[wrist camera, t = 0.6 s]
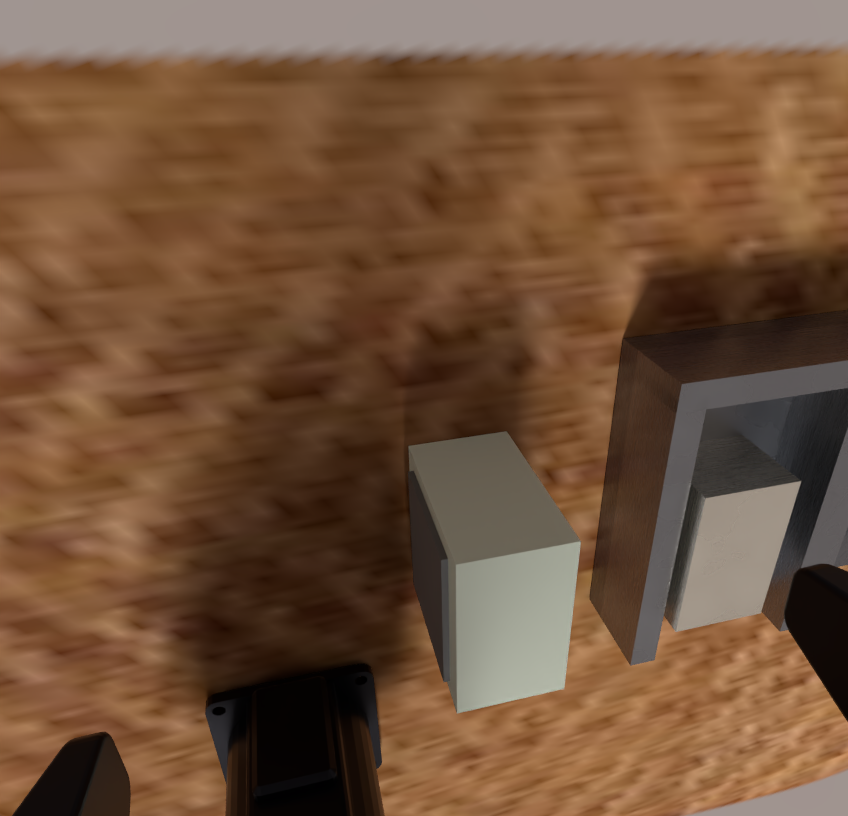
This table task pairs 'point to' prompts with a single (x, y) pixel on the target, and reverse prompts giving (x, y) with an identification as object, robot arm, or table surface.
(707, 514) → the gray compartment tray
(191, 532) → the table surface
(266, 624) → the table surface
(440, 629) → the pale sage upright block
